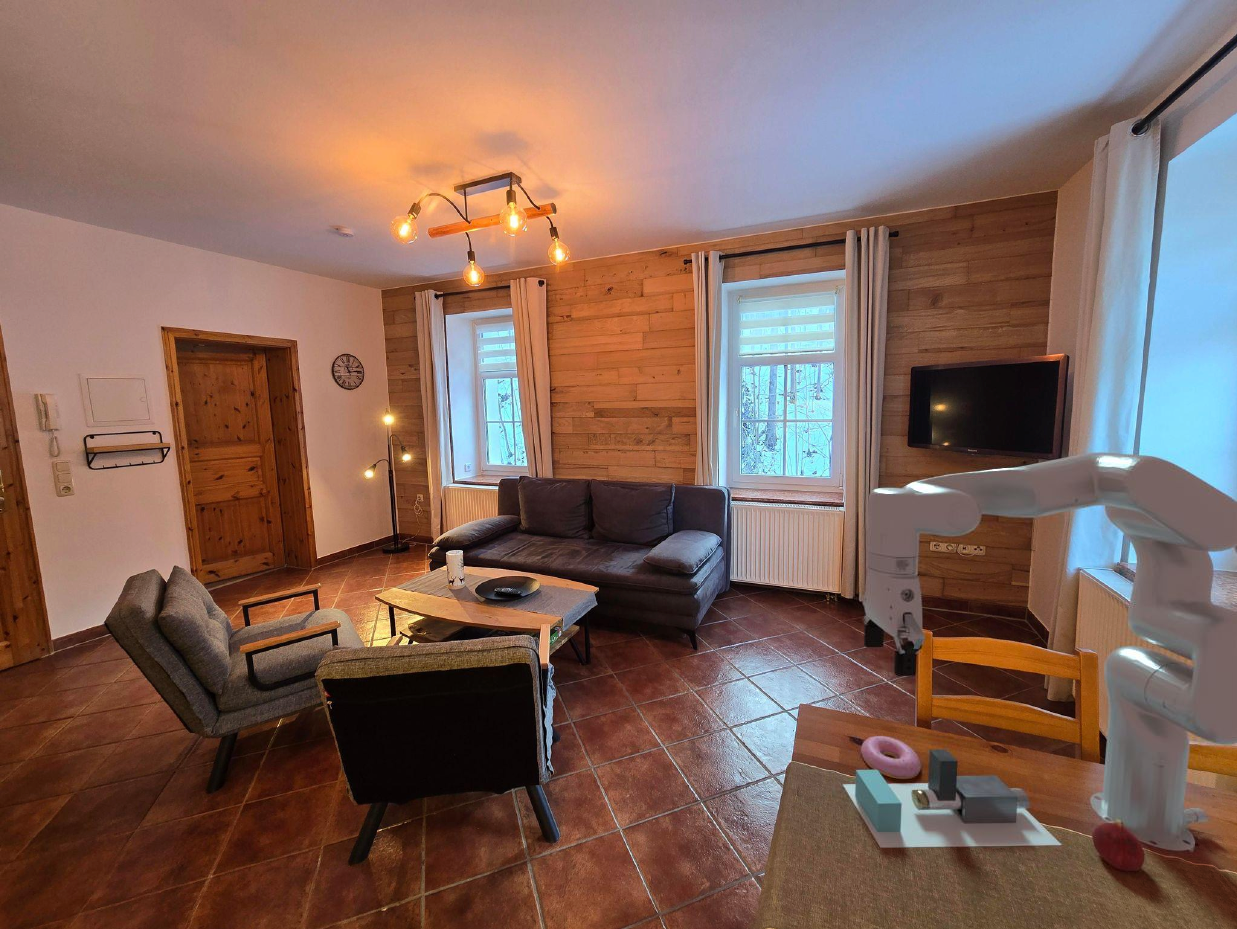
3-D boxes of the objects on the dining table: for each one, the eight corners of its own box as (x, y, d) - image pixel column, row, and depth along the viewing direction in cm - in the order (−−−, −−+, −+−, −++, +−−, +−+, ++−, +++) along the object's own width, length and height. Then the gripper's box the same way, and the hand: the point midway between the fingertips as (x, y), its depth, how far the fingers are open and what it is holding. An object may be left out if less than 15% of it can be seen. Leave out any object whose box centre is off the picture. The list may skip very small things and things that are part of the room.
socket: (876, 795, 92) (877, 769, 92) (900, 831, 84) (901, 803, 84) (855, 796, 92) (855, 770, 92) (877, 832, 84) (878, 803, 84)
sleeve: (994, 800, 90) (995, 775, 90) (1016, 822, 85) (1017, 796, 85) (945, 801, 91) (946, 776, 90) (964, 823, 86) (965, 797, 85)
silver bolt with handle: (1015, 799, 89) (1018, 748, 88) (1028, 812, 86) (1032, 759, 85) (911, 800, 90) (913, 749, 89) (921, 814, 87) (923, 761, 86)
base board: (997, 787, 95) (997, 782, 95) (1061, 851, 81) (1062, 845, 81) (842, 790, 95) (842, 784, 95) (880, 853, 81) (880, 847, 81)
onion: (1153, 888, 75) (1158, 840, 74) (1109, 881, 76) (1113, 834, 75) (1122, 854, 80) (1126, 809, 80) (1081, 849, 81) (1085, 804, 81)
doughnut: (865, 780, 98) (866, 760, 98) (856, 744, 109) (856, 727, 108) (927, 791, 95) (928, 771, 94) (911, 753, 105) (912, 735, 105)
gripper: (948, 578, 73) (943, 687, 75) (886, 548, 90) (883, 637, 92) (898, 579, 73) (894, 688, 75) (845, 548, 90) (843, 637, 92)
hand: (888, 659), depth 83 cm, fingers open, 9 cm apart
